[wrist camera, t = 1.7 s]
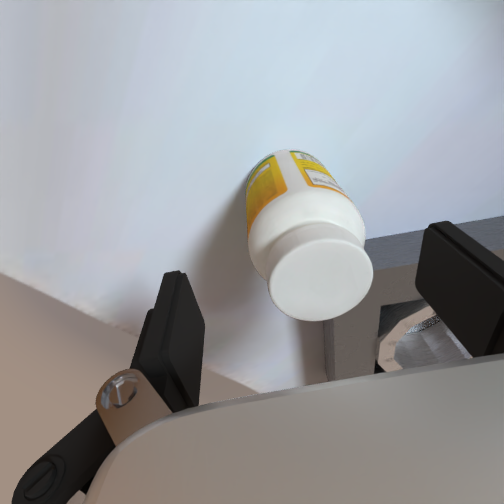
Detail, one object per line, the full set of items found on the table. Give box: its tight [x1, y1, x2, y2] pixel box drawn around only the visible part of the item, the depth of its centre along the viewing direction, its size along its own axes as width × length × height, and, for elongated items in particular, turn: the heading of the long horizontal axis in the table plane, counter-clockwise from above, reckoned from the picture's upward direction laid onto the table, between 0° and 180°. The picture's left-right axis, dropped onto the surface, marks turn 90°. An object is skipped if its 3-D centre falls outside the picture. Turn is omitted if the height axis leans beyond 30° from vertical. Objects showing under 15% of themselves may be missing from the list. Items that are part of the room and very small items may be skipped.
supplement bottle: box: [245, 149, 373, 321], centre depth 15 cm, size 5×5×10 cm
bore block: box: [323, 216, 504, 382], centre depth 24 cm, size 16×16×4 cm
